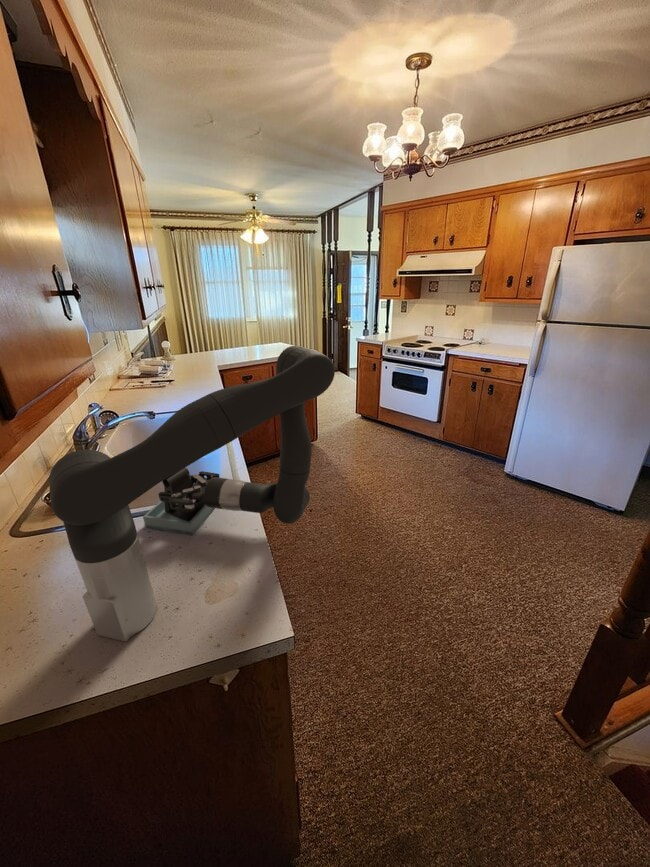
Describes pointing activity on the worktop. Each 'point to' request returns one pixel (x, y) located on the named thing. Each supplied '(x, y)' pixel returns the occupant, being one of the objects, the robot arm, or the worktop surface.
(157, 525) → the slate tray
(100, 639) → the worktop surface
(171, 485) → the phone stand
